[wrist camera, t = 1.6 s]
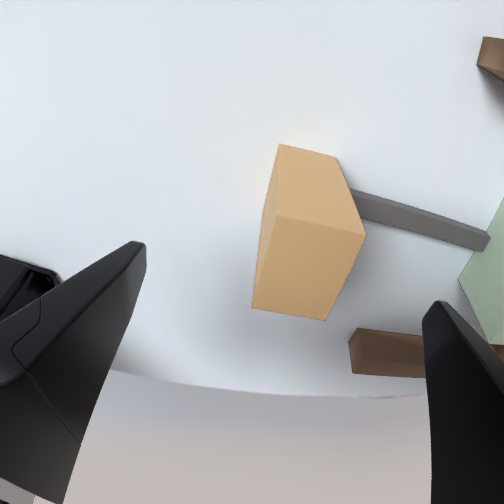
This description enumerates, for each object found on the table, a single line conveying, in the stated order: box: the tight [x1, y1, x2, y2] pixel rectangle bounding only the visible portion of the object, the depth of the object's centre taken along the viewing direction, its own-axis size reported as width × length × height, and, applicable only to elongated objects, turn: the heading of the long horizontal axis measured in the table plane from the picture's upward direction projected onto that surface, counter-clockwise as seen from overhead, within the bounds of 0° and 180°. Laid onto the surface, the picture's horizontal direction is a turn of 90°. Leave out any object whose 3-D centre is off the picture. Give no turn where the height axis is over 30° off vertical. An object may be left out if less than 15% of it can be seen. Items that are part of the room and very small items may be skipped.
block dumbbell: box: [251, 144, 504, 345], centre depth 12 cm, size 6×18×6 cm, turn 79°
